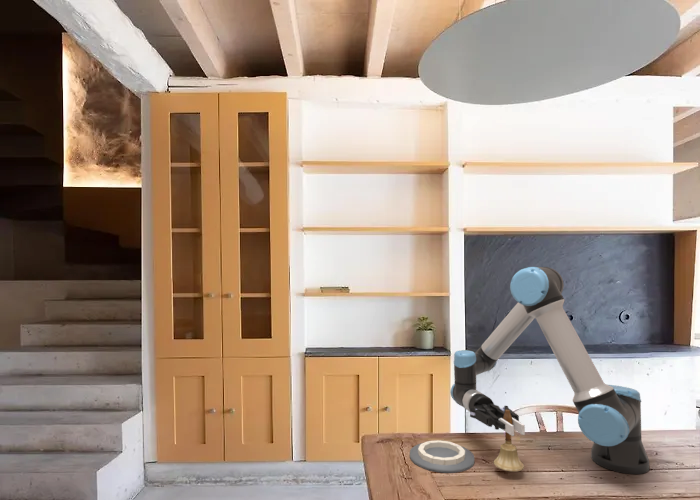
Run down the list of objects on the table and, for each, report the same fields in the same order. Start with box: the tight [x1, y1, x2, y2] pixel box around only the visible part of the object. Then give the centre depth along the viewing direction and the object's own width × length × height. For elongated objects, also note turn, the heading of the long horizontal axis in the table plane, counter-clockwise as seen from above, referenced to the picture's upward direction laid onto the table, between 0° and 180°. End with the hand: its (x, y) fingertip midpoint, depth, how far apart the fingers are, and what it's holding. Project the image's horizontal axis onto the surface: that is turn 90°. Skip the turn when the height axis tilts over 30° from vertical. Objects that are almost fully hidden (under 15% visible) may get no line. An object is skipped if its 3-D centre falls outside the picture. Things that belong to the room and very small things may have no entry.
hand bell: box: [493, 409, 525, 473], centre depth 127 cm, size 8×8×16 cm
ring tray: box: [409, 439, 475, 474], centre depth 137 cm, size 20×20×2 cm
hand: (518, 430), depth 122 cm, fingers closed on hand bell, 3 cm apart
